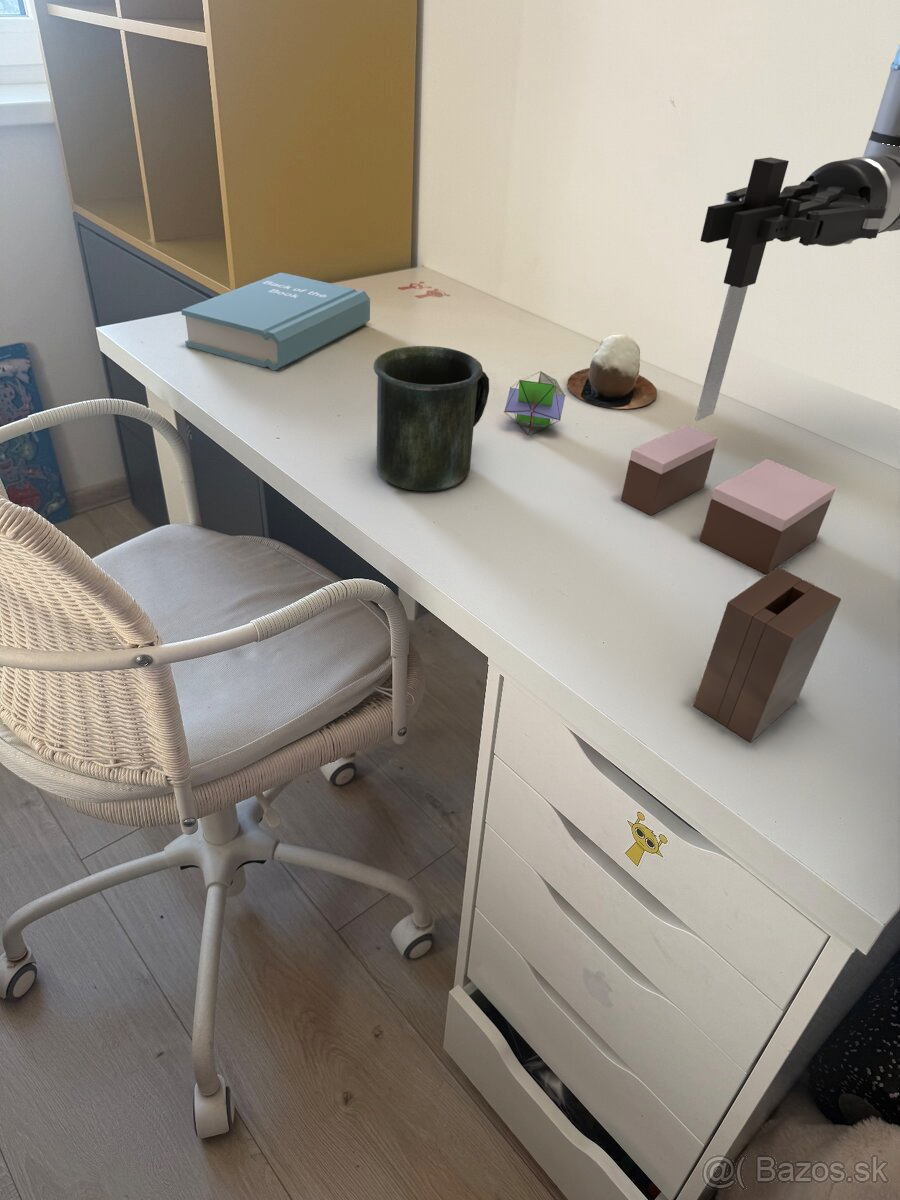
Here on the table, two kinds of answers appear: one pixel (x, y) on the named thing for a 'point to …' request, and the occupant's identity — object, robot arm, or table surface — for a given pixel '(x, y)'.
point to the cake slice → (668, 469)
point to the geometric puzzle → (536, 401)
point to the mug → (427, 415)
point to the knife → (740, 277)
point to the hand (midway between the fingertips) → (721, 228)
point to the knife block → (764, 652)
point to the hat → (614, 376)
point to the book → (275, 319)
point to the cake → (766, 515)
